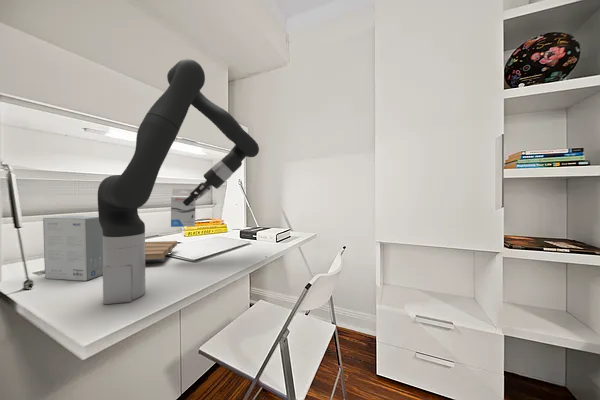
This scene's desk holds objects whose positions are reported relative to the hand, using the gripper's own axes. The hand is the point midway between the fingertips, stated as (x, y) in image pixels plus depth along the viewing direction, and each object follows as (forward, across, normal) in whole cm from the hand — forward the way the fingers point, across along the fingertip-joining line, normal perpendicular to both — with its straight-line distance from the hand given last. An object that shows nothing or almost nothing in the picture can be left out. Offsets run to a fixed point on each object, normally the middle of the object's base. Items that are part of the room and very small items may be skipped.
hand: (186, 203), depth 92 cm
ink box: (+7, 0, +6) cm, 9 cm away
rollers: (+28, -9, +6) cm, 30 cm away
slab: (+26, -9, +4) cm, 27 cm away
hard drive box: (+40, +7, -6) cm, 41 cm away
